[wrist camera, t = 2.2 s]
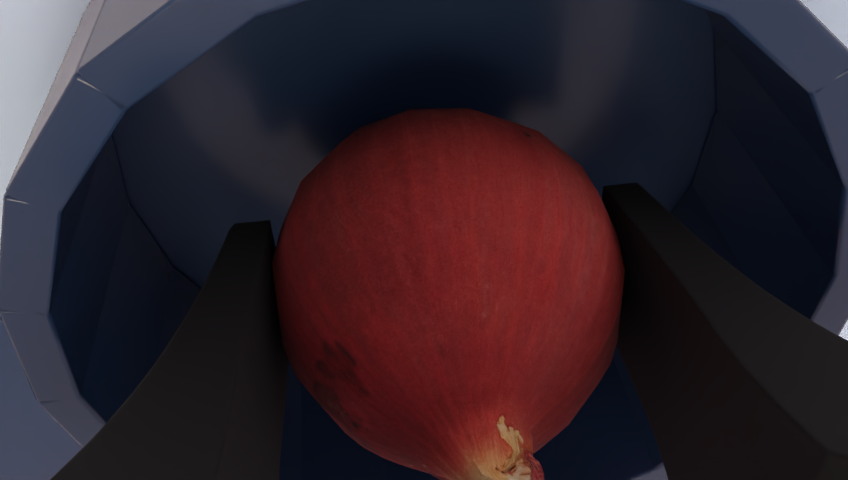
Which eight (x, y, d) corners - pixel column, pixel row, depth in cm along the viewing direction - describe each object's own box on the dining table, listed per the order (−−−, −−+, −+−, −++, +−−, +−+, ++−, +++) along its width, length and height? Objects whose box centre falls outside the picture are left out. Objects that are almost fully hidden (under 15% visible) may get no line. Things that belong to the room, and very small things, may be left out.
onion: (427, 295, 19) (484, 639, 13) (220, 175, 16) (174, 547, 10) (617, 134, 17) (790, 469, 11) (413, -41, 14) (498, 285, 8)
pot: (655, 344, 22) (733, 523, 18) (145, 372, 20) (109, 576, 17) (849, -205, 13) (1082, -89, 9) (-19, -229, 12) (-183, -102, 8)
